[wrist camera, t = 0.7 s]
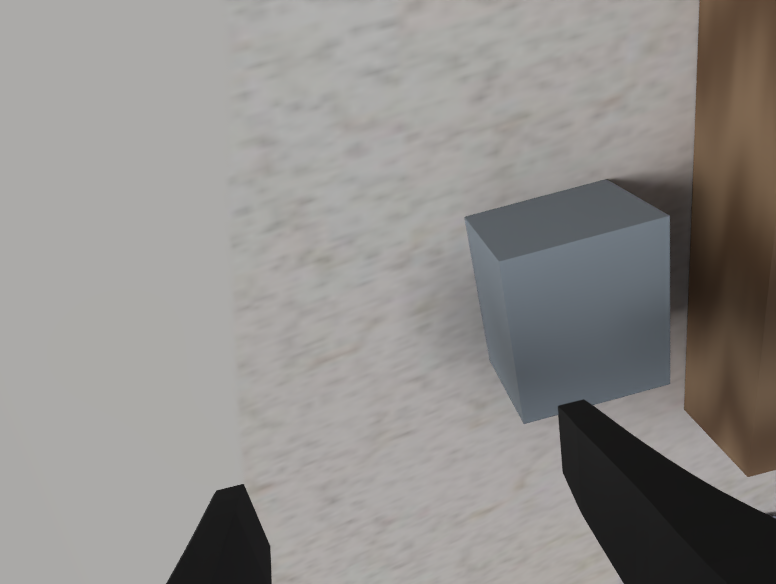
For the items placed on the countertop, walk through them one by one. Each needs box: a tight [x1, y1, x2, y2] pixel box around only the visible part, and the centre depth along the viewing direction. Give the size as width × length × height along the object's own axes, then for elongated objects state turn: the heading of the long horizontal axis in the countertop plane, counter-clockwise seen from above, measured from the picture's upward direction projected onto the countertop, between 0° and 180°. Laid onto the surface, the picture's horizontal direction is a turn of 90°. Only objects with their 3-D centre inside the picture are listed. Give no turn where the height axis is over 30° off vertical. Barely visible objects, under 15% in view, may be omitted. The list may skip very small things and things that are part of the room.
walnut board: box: [684, 0, 776, 477], centre depth 20 cm, size 16×2×4 cm, turn 12°
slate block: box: [465, 179, 670, 424], centre depth 20 cm, size 6×5×4 cm
